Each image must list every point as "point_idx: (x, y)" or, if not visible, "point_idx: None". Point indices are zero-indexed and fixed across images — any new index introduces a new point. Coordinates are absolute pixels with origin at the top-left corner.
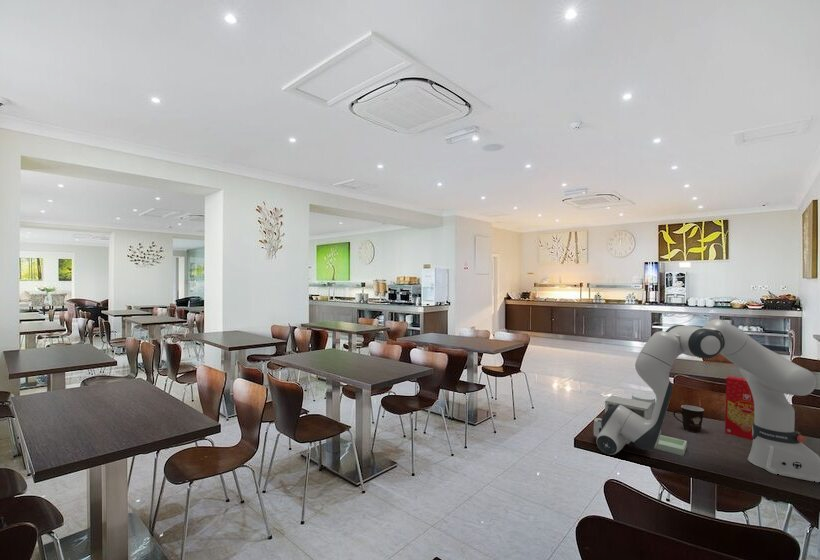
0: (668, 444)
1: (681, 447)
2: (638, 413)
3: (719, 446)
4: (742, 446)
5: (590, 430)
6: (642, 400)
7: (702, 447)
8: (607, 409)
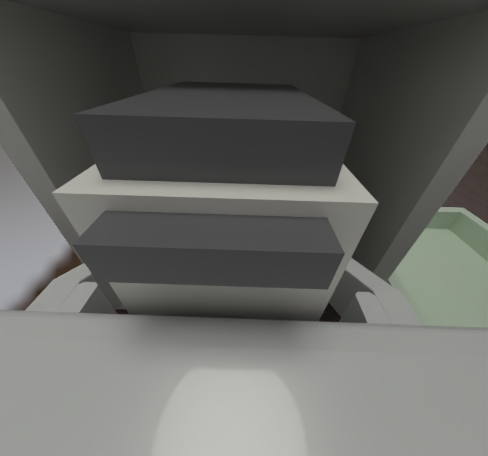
0: (415, 249)
1: (466, 250)
2: None
3: (463, 184)
4: (474, 167)
5: (41, 283)
6: None
7: (461, 207)
8: (8, 110)
